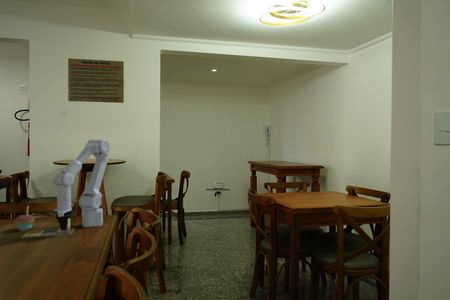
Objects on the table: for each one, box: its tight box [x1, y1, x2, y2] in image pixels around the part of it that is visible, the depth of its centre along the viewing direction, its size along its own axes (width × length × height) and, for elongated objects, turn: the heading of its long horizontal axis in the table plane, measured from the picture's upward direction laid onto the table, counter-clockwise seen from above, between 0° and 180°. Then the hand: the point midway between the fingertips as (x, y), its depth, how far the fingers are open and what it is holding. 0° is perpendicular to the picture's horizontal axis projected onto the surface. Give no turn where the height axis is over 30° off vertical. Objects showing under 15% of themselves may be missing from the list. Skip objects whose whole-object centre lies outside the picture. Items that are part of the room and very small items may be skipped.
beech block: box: [58, 217, 71, 234], centre depth 147 cm, size 4×4×6 cm
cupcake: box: [13, 205, 36, 231], centre depth 156 cm, size 9×8×12 cm
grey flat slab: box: [20, 227, 76, 239], centre depth 146 cm, size 20×9×1 cm, turn 106°
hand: (64, 228), depth 147 cm, fingers closed on beech block, 4 cm apart
